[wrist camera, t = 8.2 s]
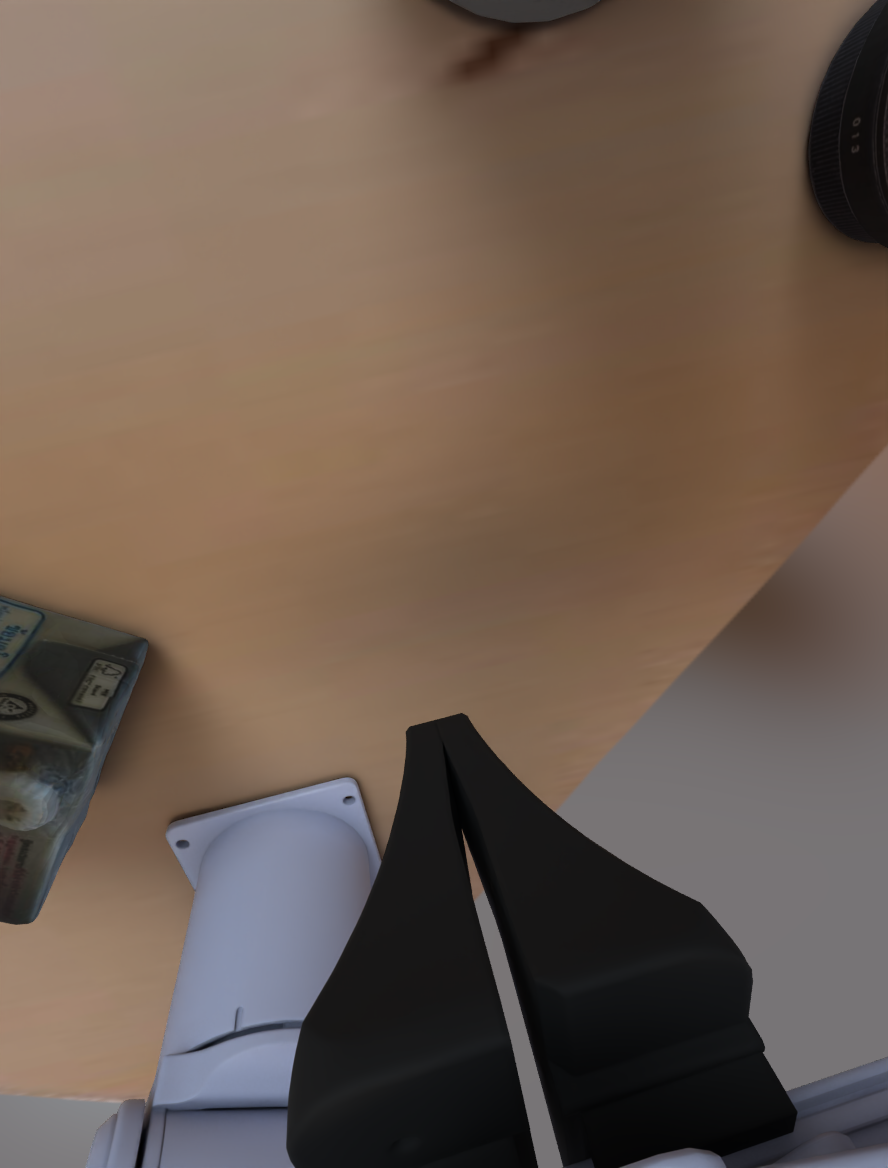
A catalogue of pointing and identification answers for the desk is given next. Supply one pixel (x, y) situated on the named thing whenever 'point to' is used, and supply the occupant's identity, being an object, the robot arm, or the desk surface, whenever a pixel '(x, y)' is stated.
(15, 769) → the beverage carton
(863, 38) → the camera lens
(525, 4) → the water bottle
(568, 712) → the desk surface
